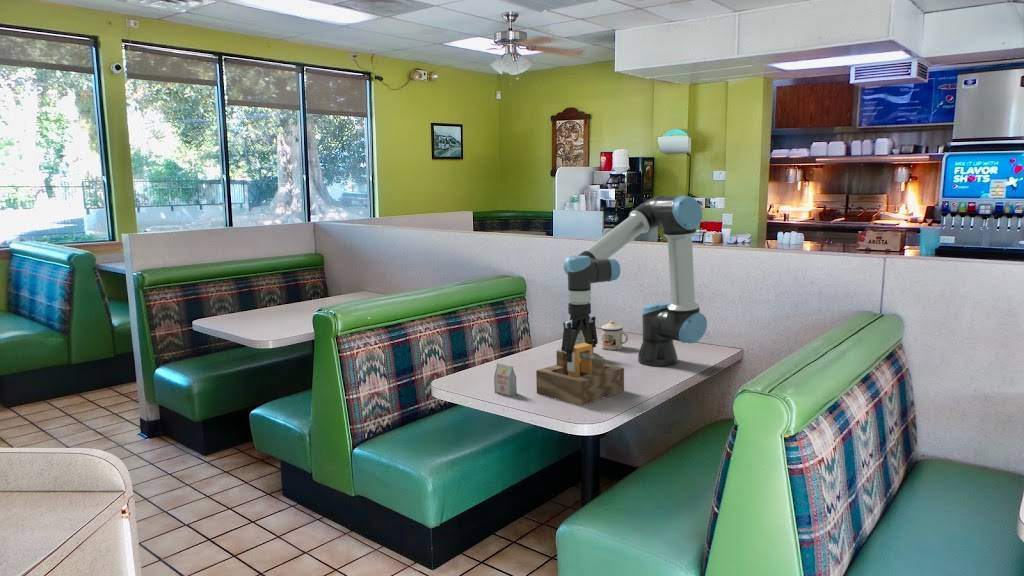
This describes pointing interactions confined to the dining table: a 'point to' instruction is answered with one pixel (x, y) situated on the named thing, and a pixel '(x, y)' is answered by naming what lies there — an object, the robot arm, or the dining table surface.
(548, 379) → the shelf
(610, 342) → the teacup with lid
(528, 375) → the dining table surface
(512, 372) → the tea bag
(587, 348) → the orange u-shaped bracket
